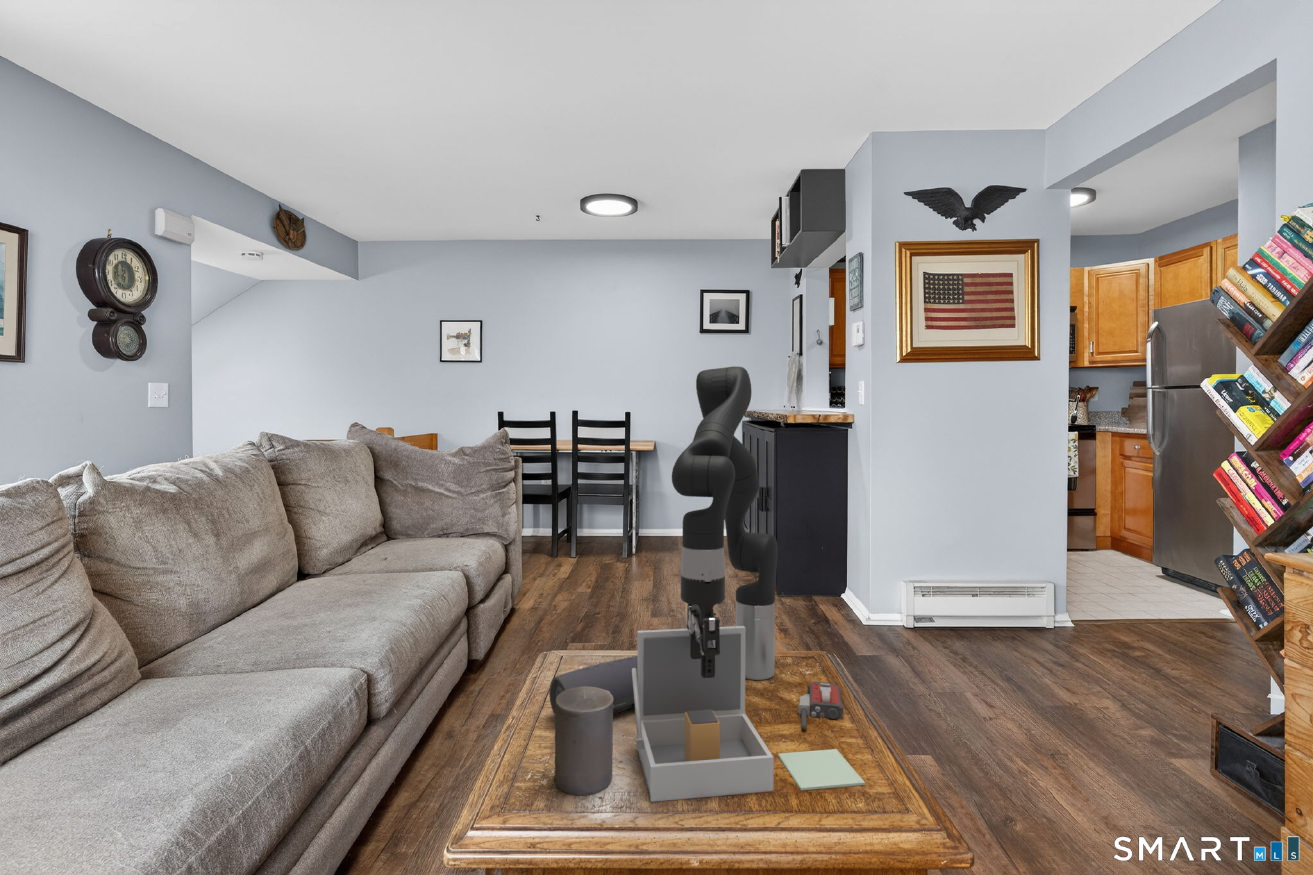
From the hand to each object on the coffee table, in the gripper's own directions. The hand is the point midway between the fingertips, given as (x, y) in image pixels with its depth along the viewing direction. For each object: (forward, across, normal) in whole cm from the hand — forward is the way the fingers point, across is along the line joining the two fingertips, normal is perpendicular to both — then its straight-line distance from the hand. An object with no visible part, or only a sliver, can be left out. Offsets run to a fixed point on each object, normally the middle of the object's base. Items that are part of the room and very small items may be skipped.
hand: (702, 667), depth 111 cm
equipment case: (+18, -1, -1) cm, 18 cm away
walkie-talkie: (+18, -18, +29) cm, 39 cm away
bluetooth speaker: (+18, -25, -14) cm, 34 cm away
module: (+17, 0, 0) cm, 17 cm away
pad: (+18, +3, +20) cm, 27 cm away
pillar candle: (+18, 0, -20) cm, 27 cm away
